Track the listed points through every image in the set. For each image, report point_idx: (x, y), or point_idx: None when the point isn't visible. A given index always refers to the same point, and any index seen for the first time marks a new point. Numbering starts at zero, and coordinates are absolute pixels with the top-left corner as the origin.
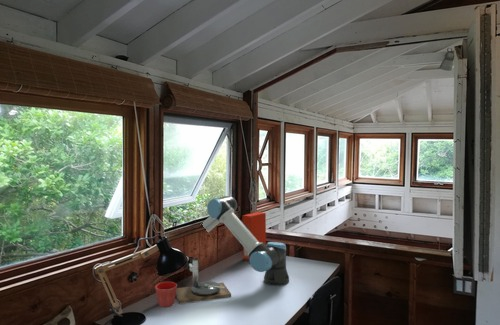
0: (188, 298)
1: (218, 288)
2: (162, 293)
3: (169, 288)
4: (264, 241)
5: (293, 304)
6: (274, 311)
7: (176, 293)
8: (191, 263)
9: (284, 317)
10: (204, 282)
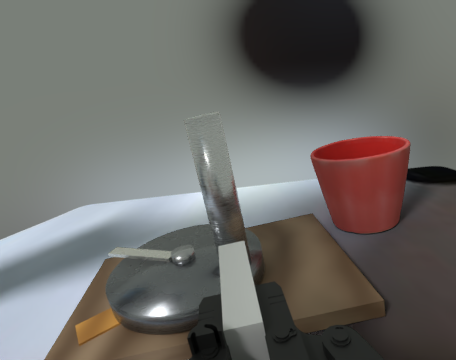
0: (275, 226)
1: (139, 247)
2: (360, 153)
3: (358, 185)
4: None
5: (2, 243)
6: (72, 221)
7: (343, 252)
8: (220, 338)
9: (77, 210)
10: (173, 300)
